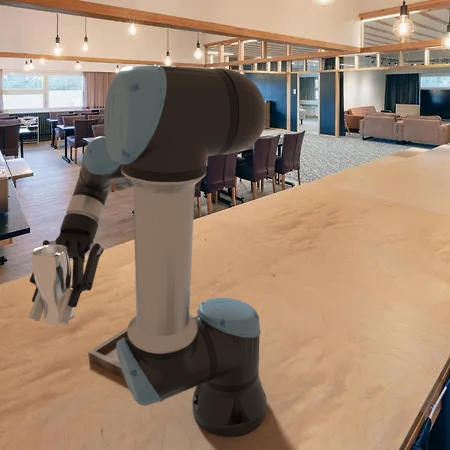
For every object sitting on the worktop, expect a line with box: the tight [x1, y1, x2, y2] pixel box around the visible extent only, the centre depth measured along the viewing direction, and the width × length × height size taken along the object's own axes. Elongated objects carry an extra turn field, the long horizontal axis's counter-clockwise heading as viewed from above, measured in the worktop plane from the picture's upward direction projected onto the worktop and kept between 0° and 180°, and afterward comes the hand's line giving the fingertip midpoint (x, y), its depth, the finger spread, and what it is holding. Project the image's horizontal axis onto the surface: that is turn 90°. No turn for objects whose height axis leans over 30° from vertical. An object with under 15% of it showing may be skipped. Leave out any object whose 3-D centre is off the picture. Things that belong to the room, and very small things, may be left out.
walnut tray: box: [87, 326, 128, 379], centre depth 98 cm, size 20×20×2 cm
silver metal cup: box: [31, 245, 75, 326], centre depth 80 cm, size 7×7×15 cm
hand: (48, 320), depth 79 cm, fingers closed on silver metal cup, 6 cm apart
